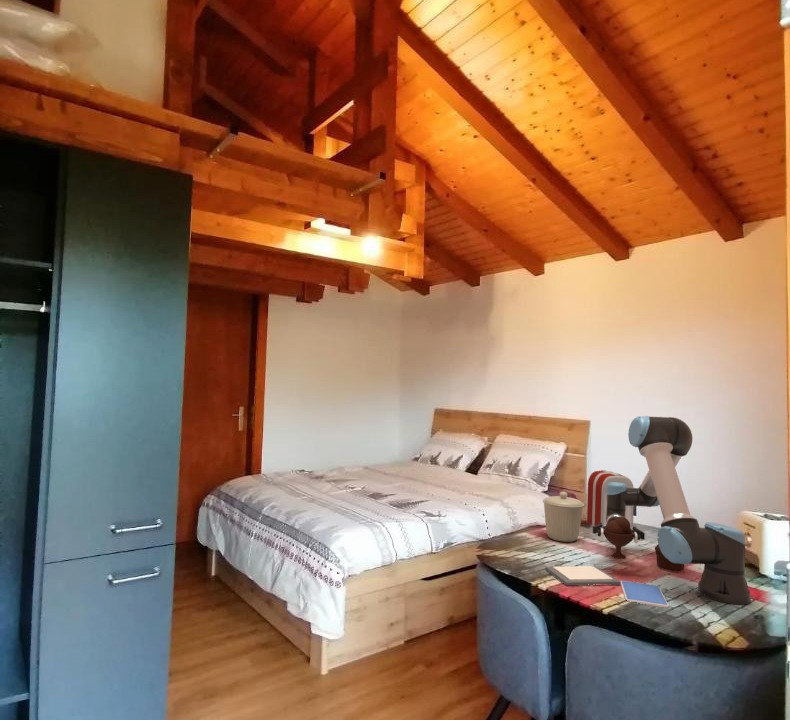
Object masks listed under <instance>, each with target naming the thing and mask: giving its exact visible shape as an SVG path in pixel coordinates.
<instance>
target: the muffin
mask: <svg viewBox="0 0 790 720" xmlns="http://www.w3.org/2000/svg"><path fill="white" fill-rule="evenodd" d="M654 551H655V557H656V565H657V566H658V568H659V567H660V569H662V568H663V570H666V571H669V572H682V571H684V568H685V564H680V563H673V562H671V561H669V560H668V559H667V558H666V557H665V556H664V555H663V553H662V552H661V550H660V548H659V545H658V543H657V544H656V545H655V547H654Z"/></svg>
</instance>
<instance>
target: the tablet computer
mask: <svg viewBox="0 0 790 720" xmlns="http://www.w3.org/2000/svg"><path fill="white" fill-rule="evenodd" d="M619 581H620V582H621V583H620V586H621V589H622V592H623V595H624V599H625V601H626V600H627V601H626V602H628V601H631V602H630V603H632V602H637V603H636V604H638V603H640V604H641V605H645V604H646V605H645V606H651V605H652V606H653V607H659V608H669V607H670V605H669V604H668V602H667V599H666V598H665V595H664V594H663V592H662V589H661V587H660V586H658V585H657V584H656V585H655V584H648V583H642V582H634V581H628V580H619Z"/></svg>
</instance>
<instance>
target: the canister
mask: <svg viewBox="0 0 790 720" xmlns="http://www.w3.org/2000/svg"><path fill="white" fill-rule="evenodd" d="M542 503H543V509H544V521H545V529H546V535H547V536H548V538H549V539H551V540H554V541H557V542H564V543H572V542H575V541H577V540H578V537H579V535H580V528H581V522H582V515H583V508H584V507H585V503H584V502H582V501H581V500H579V499H577V498H574V497H568V492H566V491H560V492H559V494H558V495H557V496H556V495H555V496H554V495H553V496H547V497H546V498H543V499H542Z"/></svg>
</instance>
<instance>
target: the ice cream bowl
mask: <svg viewBox="0 0 790 720" xmlns="http://www.w3.org/2000/svg"><path fill="white" fill-rule="evenodd" d="M603 533H604V534H603V537H604V538H605V539H606V540H607V541H608V542H609V543H610V544H611V545H614V546H615V552H613V553H610V557H611V558H613V559H618V560H626V559H627V556H626V555H625V554H624V553H622V547H625V546H626V545H627V546H628V545H629V544H630V543H631V542H632V541H634V535H635V533H633V532H632V530H631V528H630V522H629V521H628V519H626V518H624V517H617V518H616V519H615V520H612V521H609V522H608V523H607V524H606V526H605V529H603Z"/></svg>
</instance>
